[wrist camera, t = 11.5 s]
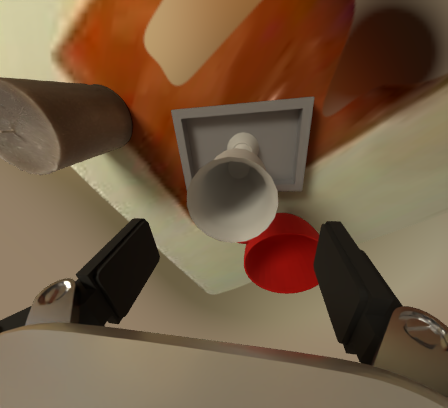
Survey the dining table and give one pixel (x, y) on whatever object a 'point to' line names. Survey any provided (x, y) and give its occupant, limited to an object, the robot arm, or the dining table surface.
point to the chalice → (233, 193)
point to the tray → (253, 124)
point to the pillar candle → (59, 123)
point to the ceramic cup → (283, 255)
